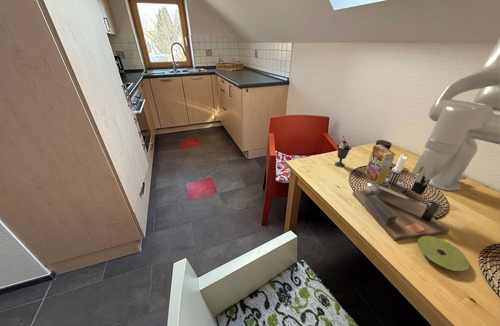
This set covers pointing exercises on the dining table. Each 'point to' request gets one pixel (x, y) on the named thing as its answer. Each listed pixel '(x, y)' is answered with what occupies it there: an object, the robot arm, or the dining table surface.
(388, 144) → the supplement container
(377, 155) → the candy box
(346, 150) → the sundae
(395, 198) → the lever
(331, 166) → the dining table surface
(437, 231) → the nutcracker bench
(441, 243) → the green disc
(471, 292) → the dining table surface
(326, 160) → the dining table surface
